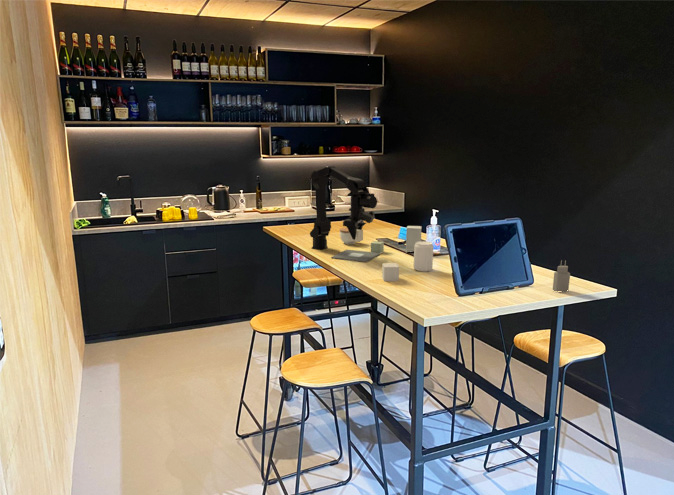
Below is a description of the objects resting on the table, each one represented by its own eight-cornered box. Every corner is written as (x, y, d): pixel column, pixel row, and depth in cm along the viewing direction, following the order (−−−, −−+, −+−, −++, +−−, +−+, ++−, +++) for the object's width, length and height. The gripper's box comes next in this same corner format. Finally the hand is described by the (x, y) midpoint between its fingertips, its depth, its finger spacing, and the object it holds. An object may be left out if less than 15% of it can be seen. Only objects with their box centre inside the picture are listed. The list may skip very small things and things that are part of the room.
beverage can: (420, 273, 215) (422, 245, 212) (409, 268, 222) (410, 242, 219) (436, 270, 219) (437, 243, 216) (424, 266, 226) (425, 240, 223)
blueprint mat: (331, 258, 240) (331, 256, 240) (346, 250, 256) (346, 249, 255) (366, 262, 232) (366, 260, 232) (380, 254, 248) (380, 252, 248)
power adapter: (569, 291, 190) (572, 260, 188) (557, 292, 189) (560, 261, 186) (563, 289, 193) (566, 258, 191) (551, 290, 192) (554, 259, 189)
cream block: (349, 241, 241) (349, 230, 240) (353, 239, 245) (353, 229, 244) (358, 242, 239) (359, 231, 238) (362, 240, 243) (363, 229, 242)
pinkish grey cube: (398, 281, 203) (399, 266, 202) (383, 281, 203) (384, 267, 201) (396, 277, 209) (396, 263, 208) (382, 277, 209) (382, 263, 207)
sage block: (370, 252, 252) (370, 242, 251) (374, 250, 256) (374, 241, 255) (380, 253, 250) (380, 243, 249) (383, 251, 254) (383, 242, 253)
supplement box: (420, 253, 250) (421, 228, 247) (405, 252, 251) (406, 227, 249) (420, 250, 257) (421, 225, 254) (406, 249, 258) (407, 225, 256)
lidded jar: (353, 240, 280) (353, 223, 278) (362, 244, 271) (363, 227, 269) (336, 242, 276) (336, 225, 273) (344, 246, 266) (345, 228, 264)
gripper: (365, 210, 227) (364, 243, 230) (379, 204, 243) (378, 236, 247) (342, 208, 232) (342, 241, 235) (358, 203, 248) (357, 234, 252)
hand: (356, 238), depth 242 cm, fingers closed on cream block, 5 cm apart
